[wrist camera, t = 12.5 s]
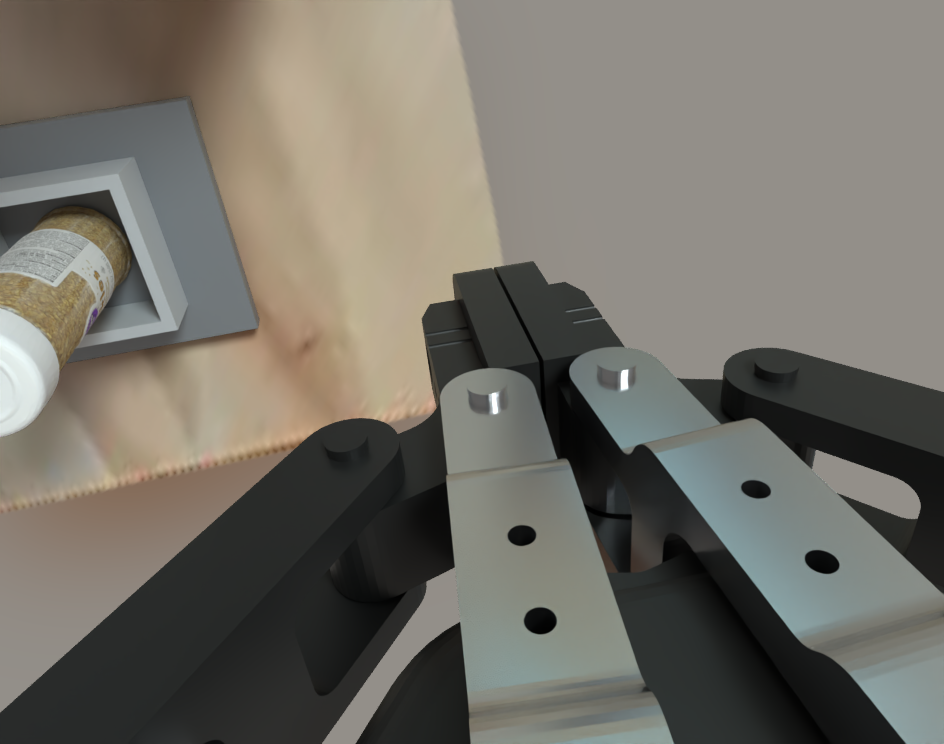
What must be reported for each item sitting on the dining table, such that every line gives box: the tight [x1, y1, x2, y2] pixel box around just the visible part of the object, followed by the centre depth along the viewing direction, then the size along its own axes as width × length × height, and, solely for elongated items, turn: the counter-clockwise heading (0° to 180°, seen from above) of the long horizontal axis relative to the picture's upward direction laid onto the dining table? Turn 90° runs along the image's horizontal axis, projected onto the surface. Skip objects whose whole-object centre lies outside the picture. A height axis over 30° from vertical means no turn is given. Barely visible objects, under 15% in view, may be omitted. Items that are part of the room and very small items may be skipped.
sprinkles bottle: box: [0, 206, 132, 437], centre depth 30 cm, size 5×5×13 cm
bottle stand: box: [0, 96, 259, 364], centre depth 35 cm, size 12×14×4 cm
